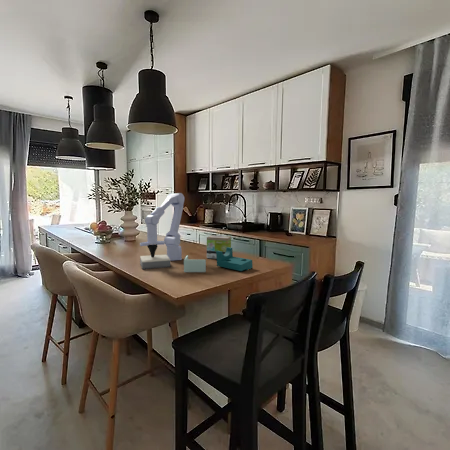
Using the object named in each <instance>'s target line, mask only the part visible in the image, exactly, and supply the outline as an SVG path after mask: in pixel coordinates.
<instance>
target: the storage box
mask: <svg viewBox="0 0 450 450" xmlns="http://www.w3.org/2000/svg"><path fill="white" fill-rule="evenodd" d="M139 258H140V257H139ZM139 260H140V261H139V262H140V263H139V264H140V267H141V270H151V269H152V270H153V269H162V268H170V267H171V261H170V260H168V261H155V262H142V261H141V258H140V259H139Z"/></svg>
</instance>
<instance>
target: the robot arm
mask: <svg viewBox="0 0 450 450" xmlns="http://www.w3.org/2000/svg"><path fill="white" fill-rule="evenodd" d="M185 198H186V197H185V196H184V194H183V193H182V192H177V193H175V192H174V193H173V192H170V193H168V195H166V198H165V199H164V201H163V202H162V204H161V205H160V206H156V207H155V209H154V210H153V211H151V213H150V214H148V215H146V217H145V219H144V223H145V225H146V229H147V230H146V232H147V233H146V237H147V238H146V240H147V241H144V242H143V241H142V242H139V247H147V249H148V250H149V253H150V255H151V257H154V255H156V251H157V249H158V245H159V246H160V245H161V246H162V245H163V246H164V245H165V247H166V255H167V256H168V257H169V258H170V262H171V261H182V260H183V259H182V246H181V235H180V233H179V228H180V224H181V219H182V215H183V210H184V203H185ZM170 206H172V207H173V208H174V210H173V214H172V219H171V223H170V227H169V228H170V229H169V231H167V233H166V234H165V236H164V239H163V240H160V241H159V240H158V224H160V223H159V222H160V219H161V217H162V216H163V215H164V214H165V211H166V209H167V208H168V207H170Z"/></svg>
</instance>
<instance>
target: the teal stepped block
mask: <svg viewBox="0 0 450 450" xmlns="http://www.w3.org/2000/svg"><path fill="white" fill-rule="evenodd" d="M216 257H217V259H216V266H217V267H221V268H226V269H229V270H235V271H239V272H243V271H249V270H248V269H250V270H252V269H253V265H254V264H253V259H249V258H243V257H238V256H234V254H233V247H231V248H230V247H227V248H226V252H225V254H224V255H223V252H222V251H216ZM251 268H252V269H251Z"/></svg>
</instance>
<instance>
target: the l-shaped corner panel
mask: <svg viewBox="0 0 450 450" xmlns="http://www.w3.org/2000/svg"><path fill="white" fill-rule="evenodd" d="M206 262H207V258H206V259H201V258H200V259H198V258H197V259H196V258H195V259H189V255H186V256H185V257H184V259H183V272H184V273H206V271H207V269H206V268H207V267H206V266H207V265H206Z"/></svg>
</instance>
